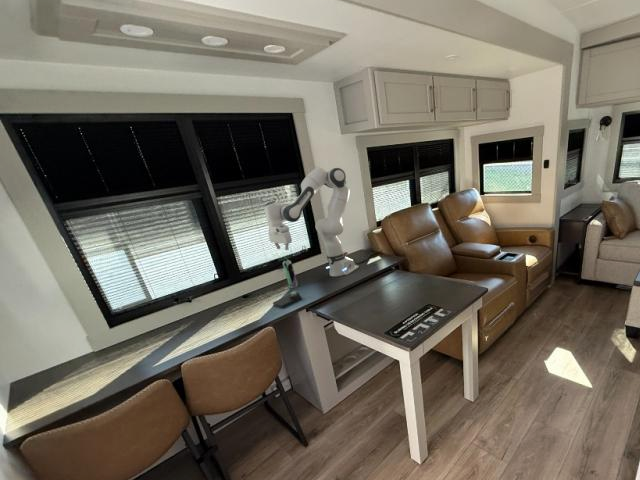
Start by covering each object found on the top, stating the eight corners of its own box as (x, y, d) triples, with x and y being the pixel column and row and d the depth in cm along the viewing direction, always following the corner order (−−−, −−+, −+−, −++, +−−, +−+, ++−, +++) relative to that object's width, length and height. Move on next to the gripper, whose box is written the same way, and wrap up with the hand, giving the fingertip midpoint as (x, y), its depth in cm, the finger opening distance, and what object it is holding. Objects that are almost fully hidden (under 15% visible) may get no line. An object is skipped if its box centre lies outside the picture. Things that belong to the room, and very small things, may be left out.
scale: (292, 296, 196) (291, 290, 194) (303, 299, 189) (301, 293, 188) (273, 305, 186) (271, 299, 185) (283, 309, 180) (281, 302, 178)
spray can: (297, 286, 211) (289, 258, 203) (289, 288, 209) (281, 260, 202) (297, 284, 216) (290, 256, 208) (289, 286, 214) (281, 258, 207)
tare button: (294, 293, 190) (294, 291, 189) (298, 294, 188) (297, 291, 187) (290, 295, 188) (289, 293, 187) (293, 296, 186) (292, 293, 185)
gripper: (263, 229, 202) (270, 249, 207) (281, 229, 189) (287, 251, 194) (272, 226, 206) (278, 246, 211) (290, 227, 194) (296, 248, 199)
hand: (283, 249), depth 203 cm, fingers open, 8 cm apart
